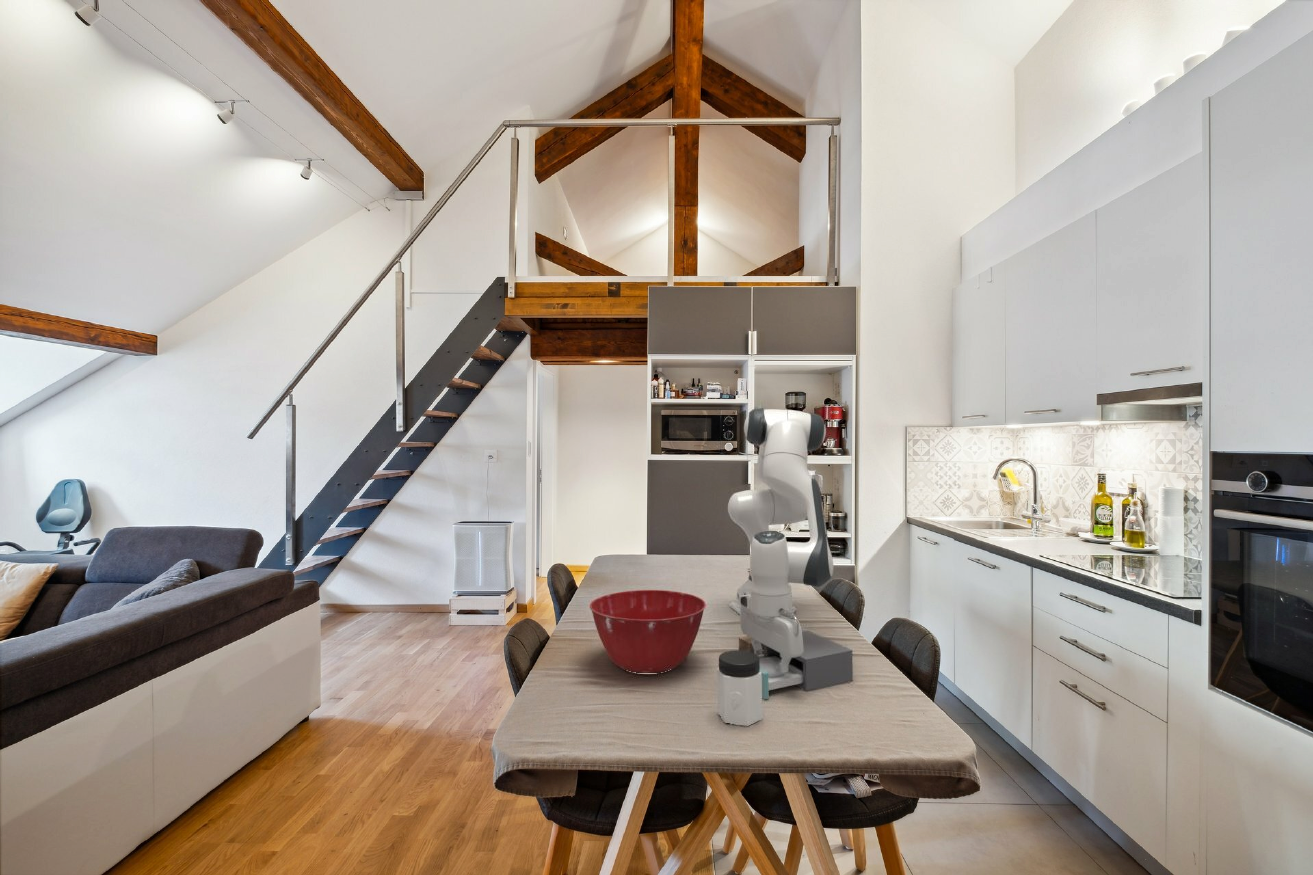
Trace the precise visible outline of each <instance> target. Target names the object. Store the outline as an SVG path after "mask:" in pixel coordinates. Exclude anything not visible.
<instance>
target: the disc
mask: <svg viewBox="0 0 1313 875" xmlns="http://www.w3.org/2000/svg"><path fill="white" fill-rule="evenodd" d="M759 662H760V669H762V670H764V671H765V672H767V673H768V677H769V678H777V677H782V676H784V675H785V673H786V672H785V673H782V672H781V671H779V670H778V663H780V662H781V661H779V660H774V659H763V660H759Z"/></svg>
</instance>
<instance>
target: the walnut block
mask: <svg viewBox="0 0 1313 875" xmlns="http://www.w3.org/2000/svg"><path fill="white" fill-rule="evenodd" d="M761 646H762V650H764V644H762V643H761ZM738 650H740V651H748V652H752V653H754V648H753V645H752V643H751V637H749V636H747V635H745V636H740V637H738ZM764 658H765V651H764Z"/></svg>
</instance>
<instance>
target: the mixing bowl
mask: <svg viewBox="0 0 1313 875" xmlns="http://www.w3.org/2000/svg"><path fill="white" fill-rule="evenodd" d="M706 604H707V603H706V602H705V600H704V599H702V598H701V597H699V596H697V595H693V594H690V593H687V592H679V591H676V590H674V591H672V590H662V589H659V590H658V589H642V590H641V589H640V590H639V589H638V590H626V591H625V590H624V591H619V592H612V593H609V594H606V595H603V596H599V597H597V598H596V599H594V600H592V601H591V602H590V603H589V609H590V610H591V612H592V617H593V620H594V624H595V627H596V630H597V633H598V637H599V638H600V641H601V643H602V645H603V647H604V649H605V651H606V653H607V655H608V656H609V658H610V660H611V661H612V662H613V663H614V664H615V665H616V666H618V667H619V668H621V669H622V668H623V669H622V670H624V669H625V670H628V671H631V672H636V673H661V672H665V671H668V670H670V669H672V670H674V669H675V668H676V667H678V666H679V665H680V664H682V663H683V662H684V661H685V660H686V658H687V657H688V655H689V654H690V651H691V650H692V648H693V646H694V642H695V641H696V638H697V635H698V633H699V630H700V626H701V624H702V623H701V622H702V619H703V616H704V615H703V614H704V610H705V609H706V606H707V605H706ZM673 668H674V669H673ZM625 670H624V671H625ZM668 672H669V671H668ZM665 673H666V672H665Z"/></svg>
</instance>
